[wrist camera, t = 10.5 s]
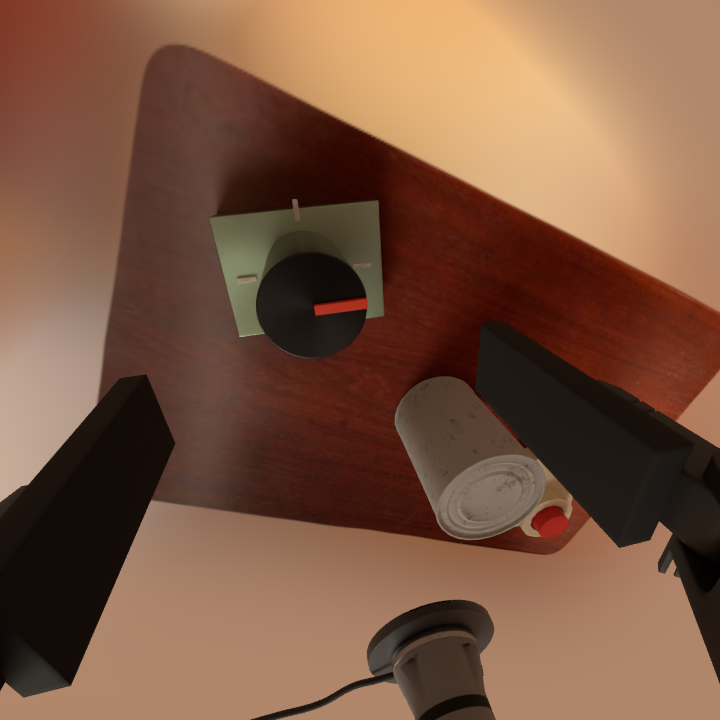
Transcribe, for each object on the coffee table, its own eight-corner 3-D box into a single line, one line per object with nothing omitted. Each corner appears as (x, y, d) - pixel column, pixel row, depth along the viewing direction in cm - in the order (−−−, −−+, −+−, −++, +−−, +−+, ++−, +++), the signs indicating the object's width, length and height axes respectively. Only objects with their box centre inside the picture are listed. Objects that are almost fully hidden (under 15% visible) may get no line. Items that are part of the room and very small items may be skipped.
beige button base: (493, 518, 50) (508, 544, 46) (502, 452, 44) (521, 475, 41) (556, 504, 51) (576, 527, 48) (574, 437, 45) (598, 459, 42)
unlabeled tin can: (475, 436, 42) (540, 523, 31) (398, 455, 41) (438, 551, 30) (476, 367, 37) (552, 441, 27) (390, 386, 37) (433, 471, 26)
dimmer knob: (273, 314, 28) (268, 369, 20) (257, 235, 25) (242, 260, 17) (348, 304, 29) (372, 352, 20) (340, 226, 26) (364, 246, 18)
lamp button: (529, 529, 46) (537, 541, 45) (533, 508, 45) (542, 520, 43) (556, 522, 47) (565, 534, 45) (562, 502, 45) (571, 513, 44)
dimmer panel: (245, 330, 31) (241, 344, 28) (213, 205, 26) (205, 207, 24) (376, 311, 33) (385, 323, 30) (369, 190, 28) (378, 191, 25)
